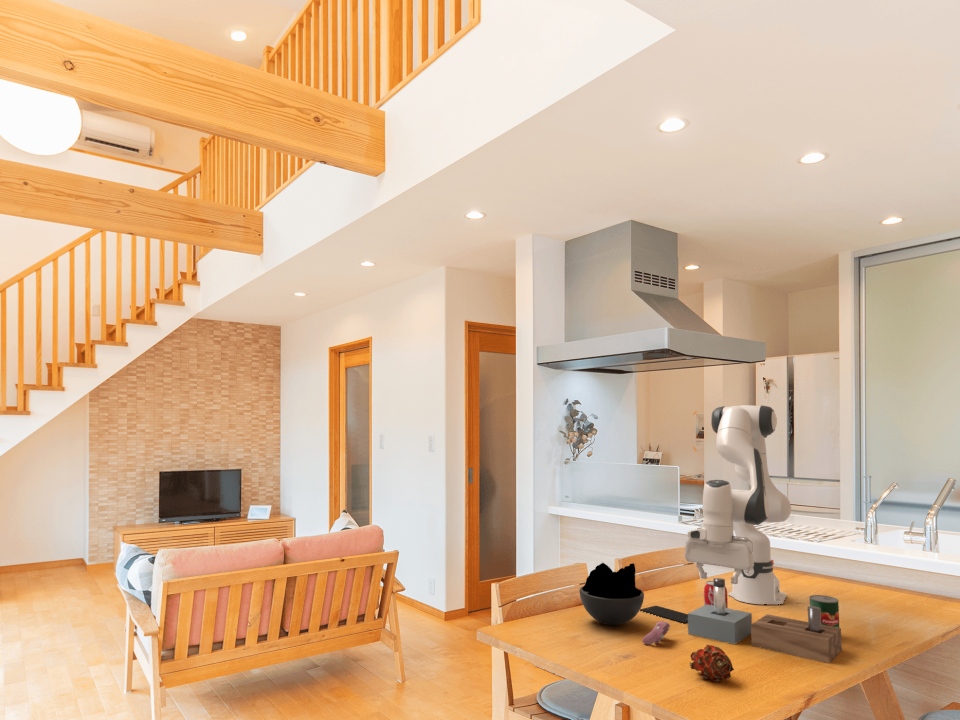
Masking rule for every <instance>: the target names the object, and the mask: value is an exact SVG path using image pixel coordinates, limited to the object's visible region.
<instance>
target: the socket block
mask: <svg viewBox="0 0 960 720" xmlns="http://www.w3.org/2000/svg"><path fill="white" fill-rule="evenodd" d="M687 614H688V623H687V633H688V635H691V636H695V637H700V638H705V639H709V640H714V641H719V642H723V643H726V642H727V643H728V644H730V643H731V644H730V645H736V643H737V644H738V643H740V642H741V641H742V639H743V640H745V639H746V638H748V637H749V636H751V635H750V634H751V624H752V623H753V614H752V612H749V611H748V612H747V611H744V610H743V611H742V610H738V609H733V608H725V616H721V615H716V614H714V606H713V605H707V604H706V605H704V604H703V605H701V606H700V607H698V608H696V609H694V610H692V611H690V612H688V613H687ZM748 635H749V636H748ZM745 637H746V638H745ZM739 641H740V642H739ZM727 643H726V644H727Z"/></svg>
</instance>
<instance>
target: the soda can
mask: <svg viewBox="0 0 960 720" xmlns="http://www.w3.org/2000/svg"><path fill="white" fill-rule="evenodd" d="M703 589H704V590H703V600H704V601H703V606H704V605H706V604H707V605H713V606H714V584H713V580H707V581H706V582H705V585H704V588H703ZM727 589H728V588H727V587H726V586H725V608H728V590H727ZM728 609H729V608H728Z"/></svg>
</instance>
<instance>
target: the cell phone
mask: <svg viewBox="0 0 960 720" xmlns="http://www.w3.org/2000/svg"><path fill="white" fill-rule="evenodd" d="M641 611H643V612H642V613H644V612H646V613H645V614H647V613H650V614H649V615H651V614H653V615H652V616H654V615H656V617H658V616H659V617H658V618H661V617H662V619H666V620H668V619H669V621H673V622H675V621H676V623H679V624H682V623H683V624H682V625H686V624H687V625H688V613H684V612H681V611H677V610H674V609H671V608H667V607H663V606H661V605H660V606H659V605H652V606H649V607H644V608H641V609H640V610H639V612H641Z"/></svg>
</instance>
